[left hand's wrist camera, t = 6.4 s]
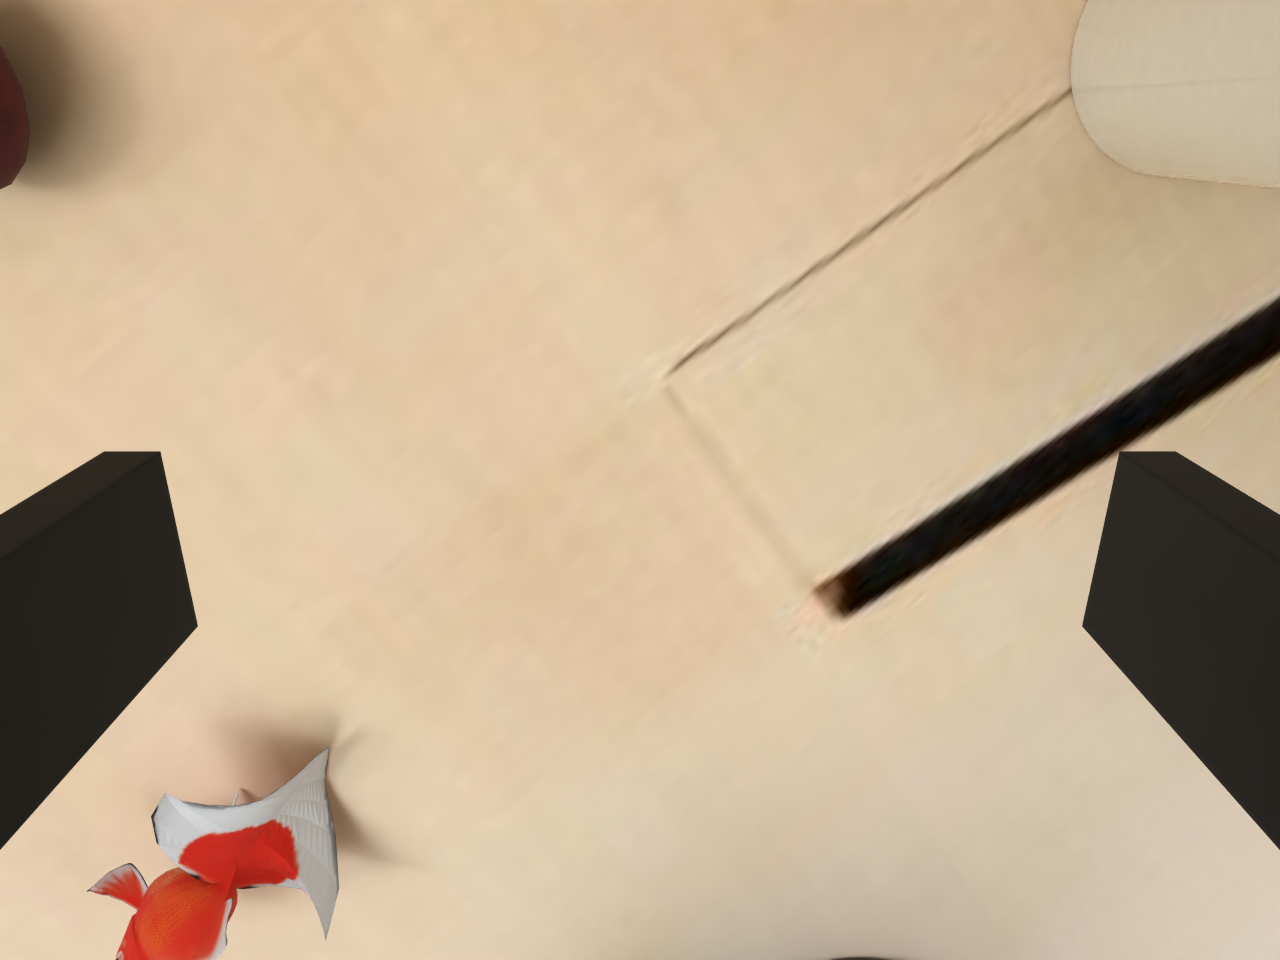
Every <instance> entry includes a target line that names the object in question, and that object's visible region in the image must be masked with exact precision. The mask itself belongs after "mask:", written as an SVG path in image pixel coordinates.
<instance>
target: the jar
mask: <svg viewBox="0 0 1280 960" xmlns="http://www.w3.org/2000/svg"><path fill="white" fill-rule="evenodd" d="M1071 85H1072V93H1073V98H1074V102H1075V107H1076V110H1077V112H1078V115H1079V118H1080V120H1081V123H1082V125H1083V126H1084V128H1085V130H1086V132H1087V134H1088V135H1089V137H1090V138H1091V139H1092V140H1093V142H1094V143H1095V144H1096V146H1097V147H1098V148H1099V149H1100V150H1101V151H1102V152H1103V153H1104V154H1106V155H1107V156H1108V157H1109V158H1111V159H1112V160H1114V161H1115V162H1116V163H1118V164H1119V165H1121V166H1124V167H1126V168H1128V169H1130V170H1132V171H1135V172H1139V173H1142V174H1145V175H1151V176H1159V177H1168V178H1178V179H1189V180H1199V181H1209V182H1219V183H1230V184H1240V185H1250V186H1260V187H1270V188H1280V0H1088V1H1087V3H1086V5H1085V7H1084V10H1083V13H1082V15H1081V18H1080V20H1079V23H1078V27H1077V30H1076V34H1075V38H1074V43H1073V49H1072V55H1071Z"/></svg>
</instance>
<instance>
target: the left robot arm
mask: <svg viewBox="0 0 1280 960" xmlns="http://www.w3.org/2000/svg"><path fill="white" fill-rule="evenodd" d="M197 627H198V625H197V620H196V615H195V611H194V606H193V601H192V597H191V592H190V587H189V583H188V578H187V573H186V569H185V564H184V559H183V555H182V550H181V545H180V541H179V536H178V531H177V527H176V522H175V518H174V513H173V508H172V504H171V499H170V494H169V490H168V485H167V480H166V476H165V471H164V466H163V462H162V457H161V452H103V453H101V454H99V455H98V456H96V457H95V458H93V459H91V460H90V461H88V462H86V463H85V464H83V465H81V466H80V467H78V468H76V469H75V470H73V471H71V472H70V473H68V474H67V475H65V476H63V477H62V478H60V479H58V480H57V481H55V482H53V483H52V484H50V485H48V486H47V487H45V488H44V489H42V490H40V491H39V492H37V493H35V494H34V495H32V496H30V497H29V498H27V499H25V500H24V501H22V502H20V503H19V504H17V505H16V506H14V507H12V508H11V509H9V510H7V511H6V512H4V513H2V514H1V515H0V849H1V848H2V847H3V846H4V845H5V844H6V843H7V842H8V840H9V839H10V838H11V837H12V836H13V835H14V834H15V832H16V831H17V830H18V829H19V828H20V827H21V826H22V825H23V823H24V822H25V821H26V820H27V819H28V818H29V817H30V816H31V814H32V813H33V812H34V811H35V810H36V809H37V808H38V806H39V805H40V804H41V803H42V802H43V801H44V800H45V799H46V797H47V796H48V795H49V794H50V793H51V792H52V791H53V789H54V788H55V787H56V786H57V785H58V784H59V783H60V782H61V780H62V779H63V778H64V777H65V776H66V775H67V774H68V773H69V771H70V770H71V769H72V768H73V767H74V766H75V765H76V763H77V762H78V761H79V760H80V759H81V758H82V757H83V756H84V754H85V753H86V752H87V751H88V750H89V749H90V748H91V746H92V745H93V744H94V743H95V742H96V741H97V740H98V739H99V737H100V736H101V735H102V734H103V733H104V732H105V731H106V730H107V728H108V727H109V726H110V725H111V724H112V723H113V722H114V720H115V719H116V718H117V717H118V716H119V715H120V714H121V713H122V711H123V710H124V709H125V708H126V707H127V706H128V705H129V703H130V702H131V701H132V700H133V699H134V698H135V697H136V696H137V694H138V693H139V692H140V691H141V690H142V689H143V688H144V687H145V685H146V684H147V683H148V682H149V681H150V680H151V679H152V677H153V676H154V675H155V674H156V673H157V672H158V671H159V670H160V668H161V667H162V666H163V665H164V664H165V663H166V662H167V660H168V659H169V658H170V657H171V656H172V655H173V654H174V653H175V651H176V650H177V649H178V648H179V647H180V646H181V645H182V644H183V642H184V641H185V640H186V639H187V638H188V637H189V636H190V634H191V633H192V632H193V631H194V630H195V629H196V628H197ZM1082 627H1083V628H1084V629H1085V630H1086V631H1087V632H1088V633H1089V634H1090V636H1091V637H1092V638H1093V639H1094V640H1095V641H1096V642H1097V644H1098V645H1099V646H1100V647H1101V648H1102V649H1103V650H1104V651H1105V653H1106V654H1107V655H1108V656H1109V657H1110V658H1111V659H1112V660H1113V662H1114V663H1115V664H1116V665H1117V666H1118V667H1119V668H1120V670H1121V671H1122V672H1123V673H1124V674H1125V675H1126V676H1127V677H1128V679H1129V680H1130V681H1131V682H1132V683H1133V684H1134V685H1135V687H1136V688H1137V689H1138V690H1139V691H1140V692H1141V693H1142V694H1143V696H1144V697H1145V698H1146V699H1147V700H1148V701H1149V702H1150V703H1151V705H1152V706H1153V707H1154V708H1155V709H1156V710H1157V711H1158V713H1159V714H1160V715H1161V716H1162V717H1163V718H1164V719H1165V720H1166V722H1167V723H1168V724H1169V725H1170V726H1171V727H1172V728H1173V730H1174V731H1175V732H1176V733H1177V734H1178V735H1179V736H1180V737H1181V739H1182V740H1183V741H1184V742H1185V743H1186V744H1187V745H1188V746H1189V748H1190V749H1191V750H1192V751H1193V752H1194V753H1195V754H1196V756H1197V757H1198V758H1199V759H1200V760H1201V761H1202V762H1203V763H1204V765H1205V766H1206V767H1207V768H1208V769H1209V770H1210V771H1211V773H1212V774H1213V775H1214V776H1215V777H1216V778H1217V779H1218V780H1219V782H1220V783H1221V784H1222V785H1223V786H1224V787H1225V788H1226V789H1227V791H1228V792H1229V793H1230V794H1231V795H1232V796H1233V797H1234V799H1235V800H1236V801H1237V802H1238V803H1239V804H1240V805H1241V806H1242V808H1243V809H1244V810H1245V811H1246V812H1247V813H1248V814H1249V816H1250V817H1251V818H1252V819H1253V820H1254V821H1255V822H1256V823H1257V825H1258V826H1259V827H1260V828H1261V829H1262V830H1263V831H1264V832H1265V834H1266V835H1267V836H1268V837H1269V838H1270V839H1271V840H1272V842H1273V843H1274V844H1275V845H1276V846H1277V847H1278V848H1279V849H1280V515H1279V514H1278V513H1276V512H1274V511H1273V510H1271V509H1269V508H1268V507H1266V506H1264V505H1263V504H1261V503H1260V502H1258V501H1256V500H1255V499H1253V498H1251V497H1250V496H1248V495H1246V494H1245V493H1243V492H1241V491H1240V490H1238V489H1236V488H1235V487H1233V486H1232V485H1230V484H1228V483H1227V482H1225V481H1223V480H1222V479H1220V478H1218V477H1217V476H1215V475H1213V474H1212V473H1210V472H1209V471H1207V470H1205V469H1204V468H1202V467H1200V466H1199V465H1197V464H1195V463H1194V462H1192V461H1190V460H1189V459H1187V458H1185V457H1184V456H1182V455H1181V454H1179V453H1177V452H1119V457H1118V462H1117V466H1116V471H1115V476H1114V480H1113V485H1112V490H1111V494H1110V499H1109V504H1108V508H1107V513H1106V518H1105V522H1104V527H1103V531H1102V536H1101V541H1100V545H1099V550H1098V555H1097V559H1096V564H1095V569H1094V573H1093V578H1092V583H1091V587H1090V592H1089V597H1088V601H1087V606H1086V611H1085V615H1084V620H1083V625H1082Z"/></svg>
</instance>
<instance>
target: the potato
mask: <svg viewBox="0 0 1280 960" xmlns="http://www.w3.org/2000/svg"><path fill="white" fill-rule="evenodd" d="M29 135H30V129H29V123H28V118H27V113H26V108H25V102H24V97H23V92H22V88H21V86H20V84H19V82H18V80H17V78H16V76H15V74H14V72H13V70H12V68H11V66H10V64H9V62H8V60H7V58H6V56H5V54H4V52H3V50H2V48H1V47H0V189H2V188H4V187H6V186H8V185H10V184H12V182H13V181H14V179H15V177H16V176H17V174H18V173H19V171H20V170H21V168H22V166H23V165H24V163H25V161H26V156H27V149H28V142H29Z"/></svg>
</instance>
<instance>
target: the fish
mask: <svg viewBox="0 0 1280 960" xmlns="http://www.w3.org/2000/svg"><path fill="white" fill-rule="evenodd" d="M328 753H329V747H328V748H327V749H325V750H324V751H322V752H321V753H319V754H318V755H317V756H316V757H315V758H314V759H313V760H312V761H311V762H309V763H308V764H307V765H306V766H305V767H304V768H303V769H302V770H301V771H300V772H299V773H298V774H297V775H296V776H295V777H294V778H292V779H291V780H290V781H288V782H287V783H285V784H284V785H283V786H281V787H280V788H279V789H277V790H276V791H274V792H273V793H271V794H270V795H268V796H267V797H265V798H264V799H262V800H261V801H257V802H252V803H247V804H242V805H238V806H235V805H236V801H237V796H238V792H236V795H235V797H234V800H233V802H232V805H231V806H219V805H204V804H197V803H191V802H184V801H181V800H179V799H177V798H175V797H172V796H170V795H168V794H166V793H165V794H164V796H163V798H162V799H161V801H160V803H159V804H158V806H157V808H156V809H155V811H154V813H153V814H152V816H151V818H152V823H153V828H154V832H155V837H156V842H157V844H158V845H159V847H160V848H161V849H162V851H163V852H164V853H165V855H166V856H167V857H168V858H170V859H171V860H172V861H173V862H174V863H175V864H177V865H178V868H174V869H171V870H169V871H167V872H165V873H164V874H162V875H161V876H159V877H158V878H157V879H156V880H155V881H154V882H153V883H152V884H151V885H150V886H149V887H148V886H147V884H146V882H145V880H144V878H143V877H142V875H141V873H140V872H139V871H138V869H137V868H136V867H135V866H134V865H133V864H131V863H128V864H125V865H122V866H120V867H118V868H116V869H114V870H112V871H110V872H108V873H107V874H106V875H105V876H104V877H103V878H102V879H101V880H99V881H98V882H97V883H96V884H95V885H94V886H93V887H91V888H90V889H89V890H88V891H92V892H95V893H98V894H101V895H108V896H111V897H113V898H115V899H119V900H122V901H124V902H125V903H127V904H128V905H130V906H132V907H133V908H135V909H137V910H138V911H137V913H136V914H134V915H133V916H132V918H131V920H130V922H129V925H128V928H127V930H126V933H125V935H124V938H123V940H122V943H121V945H120V947H119V950H118V952H117V955H116V960H216V959H217V958H218V957H219V955H220V954H221V952H222V951H223V950H224V948H225V947H226V945H227V937H226V928H227V923H228V921H229V919H230V918H231V916H232V914H233V912H234V910H235V907H236V905H237V890H236V888H238V889H248V888H256V887H263V886H271V885H278V886H284V887H289V888H299V889H302V890H303V891H304V892H305V893H306V894H307V895H308V896H309V898H310V899H311V901H312V902H313V904H314V906H315V908H316V910H317V913H318V915H319V918H320V921H321V924H322V927H323V930H324V935H325V940H326V938H327V934H328V930H329V926H330V922H331V918H332V914H333V910H334V906H335V902H336V898H337V894H338V890H339V881H338V865H337V850H336V837H335V832H334V827H333V821H332V816H331V811H330V806H329V801H328V795H327V789H326V784H325V775H326V769H327V761H328Z"/></svg>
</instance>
